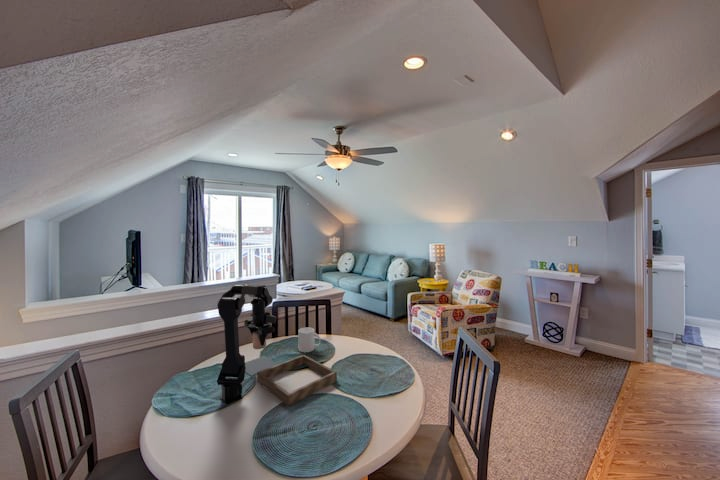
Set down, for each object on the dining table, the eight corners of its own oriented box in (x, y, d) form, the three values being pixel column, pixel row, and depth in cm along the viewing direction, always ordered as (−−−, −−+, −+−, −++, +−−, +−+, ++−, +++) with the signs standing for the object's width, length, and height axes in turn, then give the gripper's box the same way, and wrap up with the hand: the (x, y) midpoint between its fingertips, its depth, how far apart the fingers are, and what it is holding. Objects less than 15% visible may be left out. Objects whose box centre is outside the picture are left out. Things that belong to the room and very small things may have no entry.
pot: (256, 350, 138) (256, 335, 138) (250, 346, 143) (250, 331, 142) (268, 346, 143) (268, 331, 142) (262, 342, 147) (262, 328, 146)
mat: (251, 376, 134) (251, 375, 134) (237, 365, 143) (237, 365, 143) (279, 365, 144) (279, 364, 144) (264, 356, 153) (264, 355, 153)
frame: (288, 405, 113) (288, 395, 112) (257, 381, 130) (256, 372, 129) (336, 381, 130) (336, 372, 130) (303, 362, 147) (303, 354, 147)
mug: (318, 353, 157) (318, 333, 156) (296, 352, 158) (296, 332, 157) (322, 346, 165) (322, 328, 165) (301, 345, 167) (301, 327, 166)
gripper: (284, 311, 141) (284, 344, 142) (264, 303, 154) (265, 333, 155) (262, 317, 133) (262, 351, 134) (243, 308, 146) (244, 339, 147)
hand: (259, 343), depth 143 cm, fingers closed on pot, 6 cm apart
